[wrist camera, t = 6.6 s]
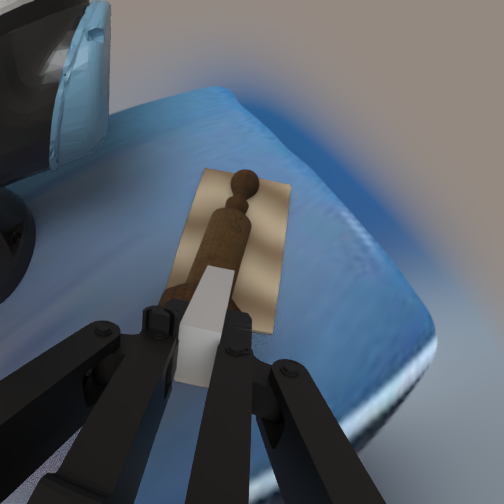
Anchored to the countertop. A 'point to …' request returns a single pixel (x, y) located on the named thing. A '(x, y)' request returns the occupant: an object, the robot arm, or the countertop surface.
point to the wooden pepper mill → (221, 239)
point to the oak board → (257, 249)
